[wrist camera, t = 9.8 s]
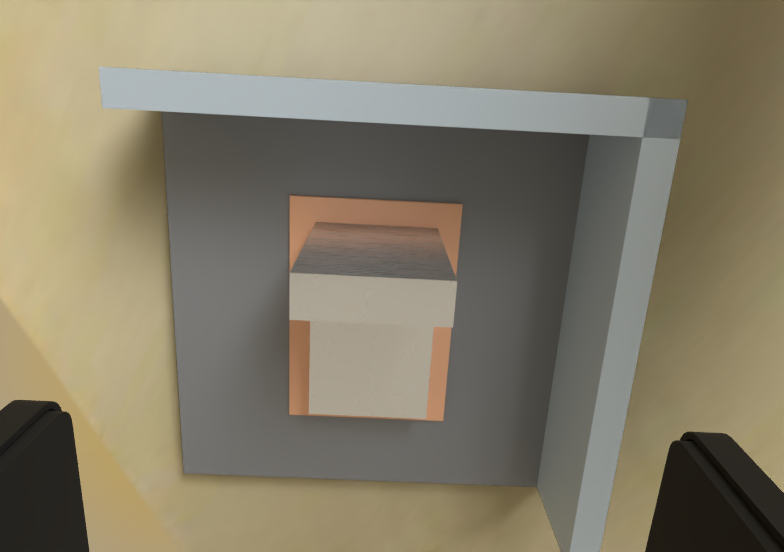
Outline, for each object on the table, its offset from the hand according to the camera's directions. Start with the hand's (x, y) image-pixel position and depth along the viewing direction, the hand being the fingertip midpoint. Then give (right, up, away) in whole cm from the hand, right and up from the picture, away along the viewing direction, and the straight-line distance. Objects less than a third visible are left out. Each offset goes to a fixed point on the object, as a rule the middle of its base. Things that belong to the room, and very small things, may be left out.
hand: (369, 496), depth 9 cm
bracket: (-1, +2, +16) cm, 16 cm away
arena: (0, +3, +17) cm, 17 cm away
